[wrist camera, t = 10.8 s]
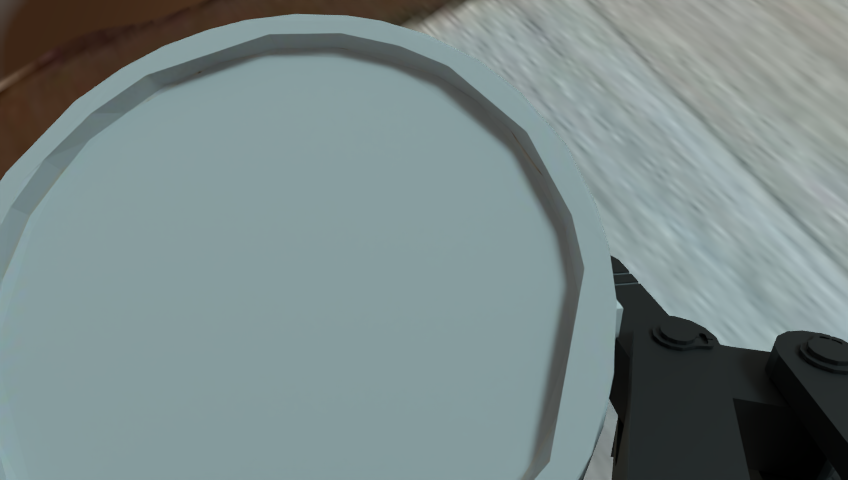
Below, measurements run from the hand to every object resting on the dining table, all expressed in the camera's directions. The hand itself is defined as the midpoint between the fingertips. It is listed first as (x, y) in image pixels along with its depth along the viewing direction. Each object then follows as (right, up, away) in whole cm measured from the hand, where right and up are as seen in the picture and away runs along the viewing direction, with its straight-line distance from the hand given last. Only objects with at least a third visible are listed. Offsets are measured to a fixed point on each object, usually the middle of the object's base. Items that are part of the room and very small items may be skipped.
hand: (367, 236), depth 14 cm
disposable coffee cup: (0, -4, +3) cm, 5 cm away
